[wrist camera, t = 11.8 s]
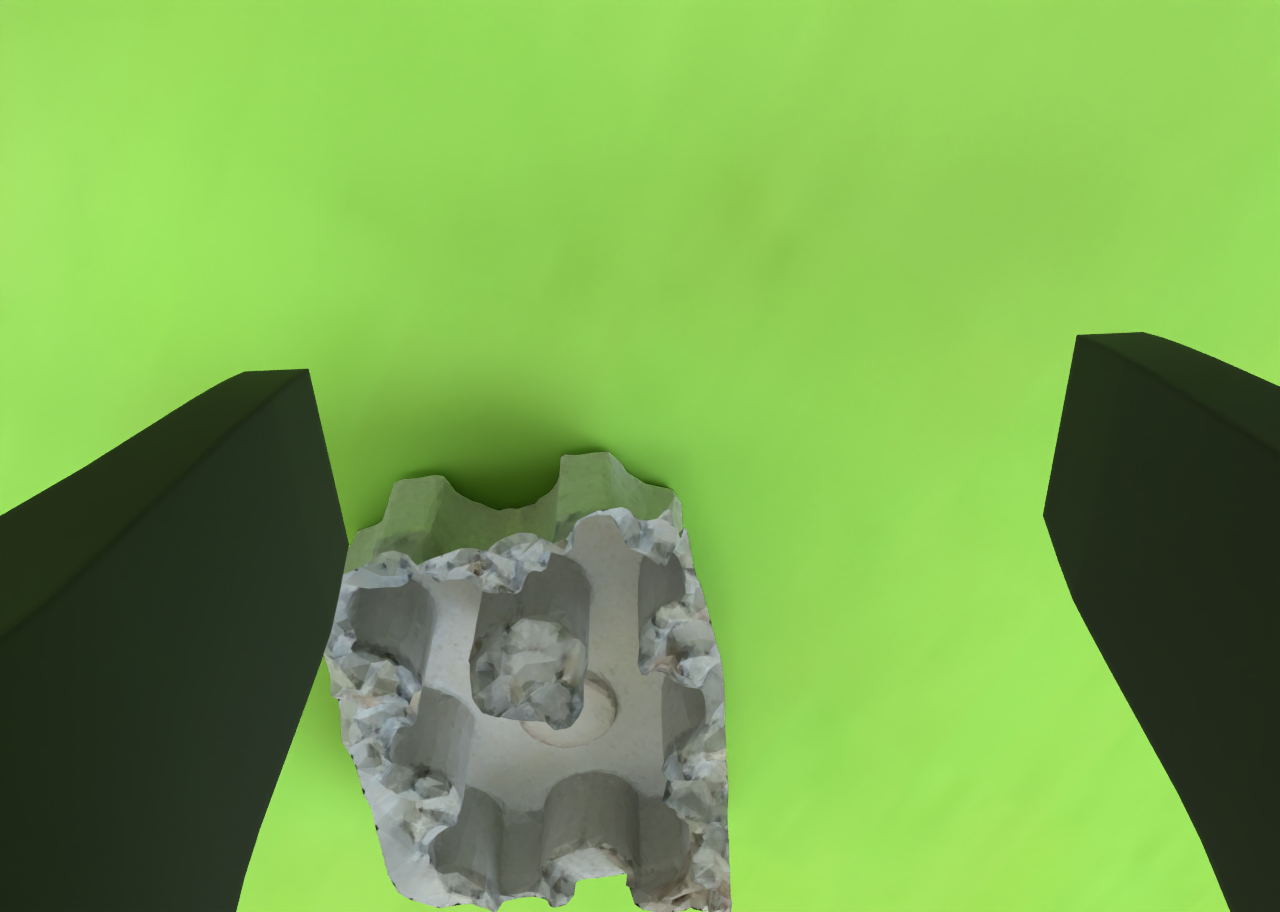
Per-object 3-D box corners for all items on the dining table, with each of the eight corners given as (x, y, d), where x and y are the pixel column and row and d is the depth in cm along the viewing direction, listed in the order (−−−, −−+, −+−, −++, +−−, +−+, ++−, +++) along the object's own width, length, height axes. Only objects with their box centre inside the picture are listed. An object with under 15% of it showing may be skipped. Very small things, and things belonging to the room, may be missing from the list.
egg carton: (728, 795, 27) (744, 947, 24) (429, 817, 27) (401, 971, 24) (702, 429, 21) (718, 559, 18) (323, 462, 22) (267, 596, 18)
